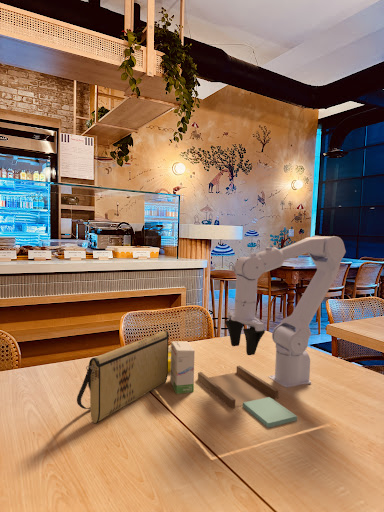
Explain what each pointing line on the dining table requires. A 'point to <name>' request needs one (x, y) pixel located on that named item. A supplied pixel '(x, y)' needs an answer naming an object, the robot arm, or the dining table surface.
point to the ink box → (182, 367)
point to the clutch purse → (125, 374)
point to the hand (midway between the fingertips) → (242, 350)
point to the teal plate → (269, 412)
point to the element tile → (169, 358)
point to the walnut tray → (238, 387)
